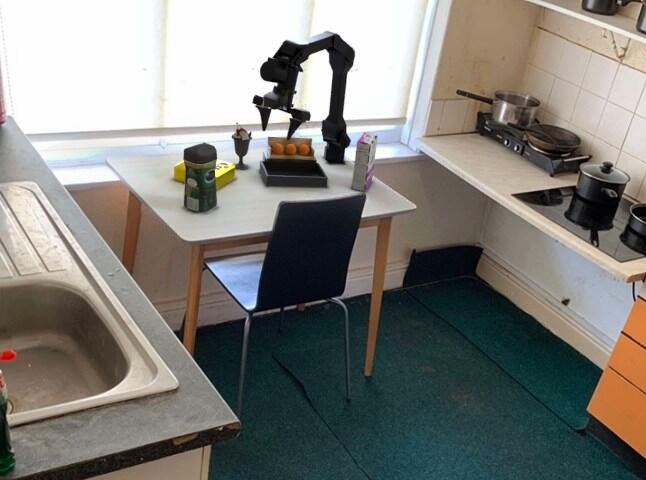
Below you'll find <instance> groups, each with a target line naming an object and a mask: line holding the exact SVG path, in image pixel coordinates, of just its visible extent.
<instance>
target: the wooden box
mask: <svg viewBox="0 0 646 480" xmlns="http://www.w3.org/2000/svg"><path fill="white" fill-rule="evenodd" d="M266 143H267V145H266V146H267V147H266V151H267V153H268V155H269V157H270V158H277V159H303V160H314V157H315V149H314V148H313V146H312V144H313V138H312V137H296V136H295V137H294V136H292V137H291V138H290V140H287V136H276V135H275V136H273V135H267V142H266ZM277 143H279V144H281V145H282V146H283V152H282V153H281V154H275V153H274V152H273V146H274V145H275V144H277ZM289 144H293V145H294V146H295V147H296V152H295V154H293V155H289V154H288V153H287V152H286V146H287V145H289ZM301 145H307V146H308V148H309V153H308V154H307V155H301V154H300V153H299V147H300V146H301Z"/></svg>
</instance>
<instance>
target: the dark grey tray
mask: <svg viewBox="0 0 646 480" xmlns="http://www.w3.org/2000/svg"><path fill="white" fill-rule="evenodd" d="M259 173H260V175H261V177H262V179H263V182H264V184H265V186H266V187H278V188H280V187H281V188H282V187H284V188H319V189H321V188H322V189H325V188H326V189H327V188H328V181H329V178H328V176H327V174H326V172H325V171H324V169H323V167H322V165H321V164H320V163H319V162H317V163H298V162H270V161H263V160H259Z"/></svg>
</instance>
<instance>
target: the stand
mask: <svg viewBox="0 0 646 480" xmlns="http://www.w3.org/2000/svg"><path fill="white" fill-rule="evenodd" d="M262 161H270V162H298V163H318V160H317V159H316V156H314V160H303V159H277V158H270V157H269V155H268V153H267V150H263V151H262Z"/></svg>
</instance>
